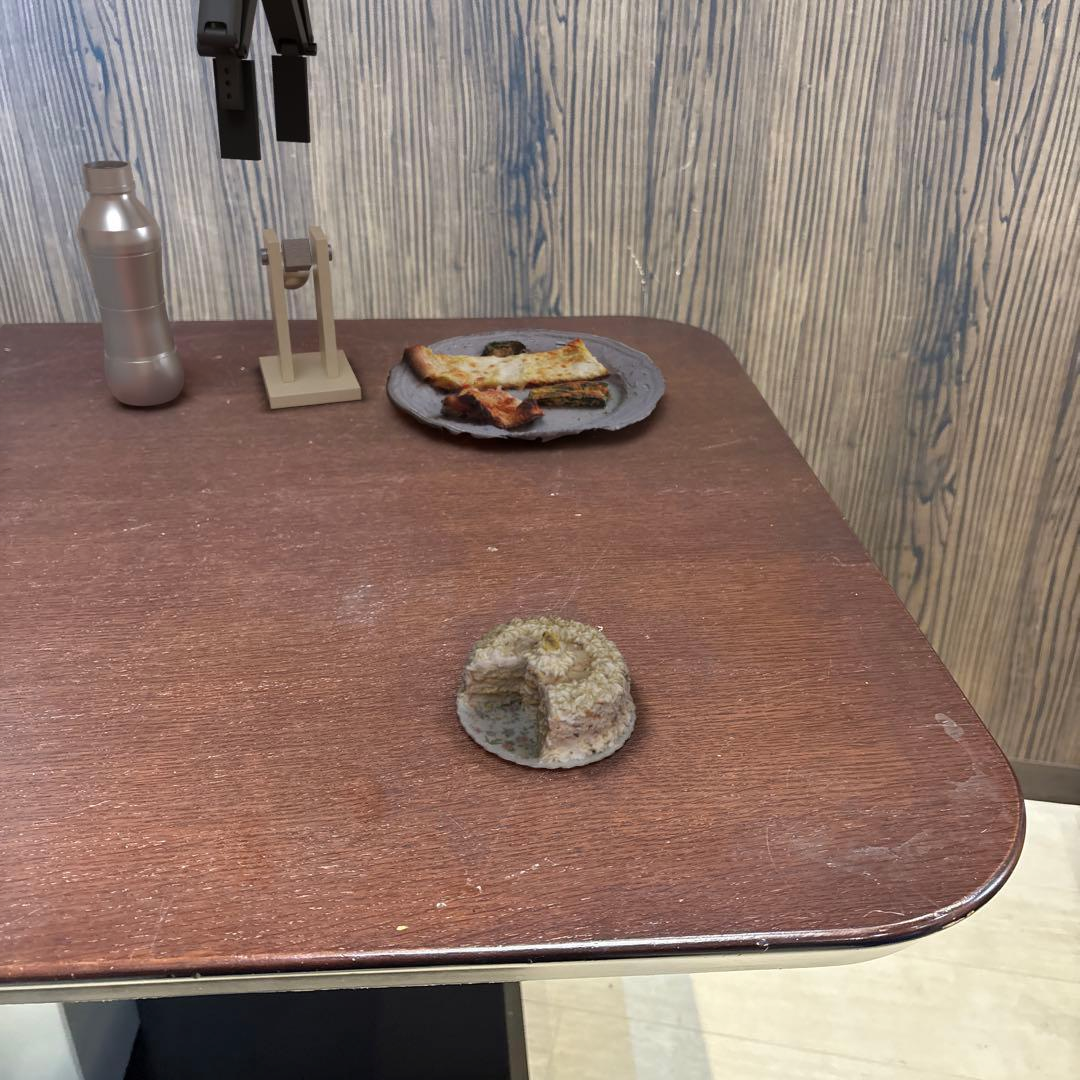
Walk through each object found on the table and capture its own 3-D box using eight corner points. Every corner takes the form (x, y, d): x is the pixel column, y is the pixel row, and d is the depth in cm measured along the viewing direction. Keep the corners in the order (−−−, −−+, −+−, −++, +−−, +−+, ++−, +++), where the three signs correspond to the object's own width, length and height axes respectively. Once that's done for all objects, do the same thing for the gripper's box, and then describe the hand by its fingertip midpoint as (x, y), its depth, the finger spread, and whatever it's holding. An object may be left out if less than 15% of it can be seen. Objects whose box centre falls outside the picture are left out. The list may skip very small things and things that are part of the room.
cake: (524, 640, 61) (531, 563, 59) (668, 707, 57) (682, 626, 54) (416, 717, 54) (419, 633, 51) (571, 801, 49) (583, 713, 47)
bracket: (260, 368, 97) (241, 222, 90) (343, 360, 99) (332, 217, 92) (271, 409, 89) (251, 252, 81) (361, 399, 91) (350, 245, 84)
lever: (272, 293, 97) (267, 255, 96) (310, 290, 98) (305, 253, 97) (279, 274, 86) (273, 231, 86) (321, 271, 87) (315, 229, 87)
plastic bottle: (152, 380, 93) (110, 153, 83) (204, 396, 91) (167, 163, 80) (94, 403, 89) (42, 165, 78) (147, 421, 86) (100, 177, 75)
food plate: (396, 464, 80) (394, 424, 78) (378, 359, 99) (376, 325, 98) (695, 444, 84) (700, 406, 83) (622, 347, 104) (625, 314, 102)
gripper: (243, -220, 58) (269, 171, 67) (344, -148, 80) (353, 138, 89) (114, -226, 58) (158, 164, 67) (251, -153, 80) (269, 133, 90)
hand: (269, 150), depth 78 cm, fingers open, 13 cm apart
